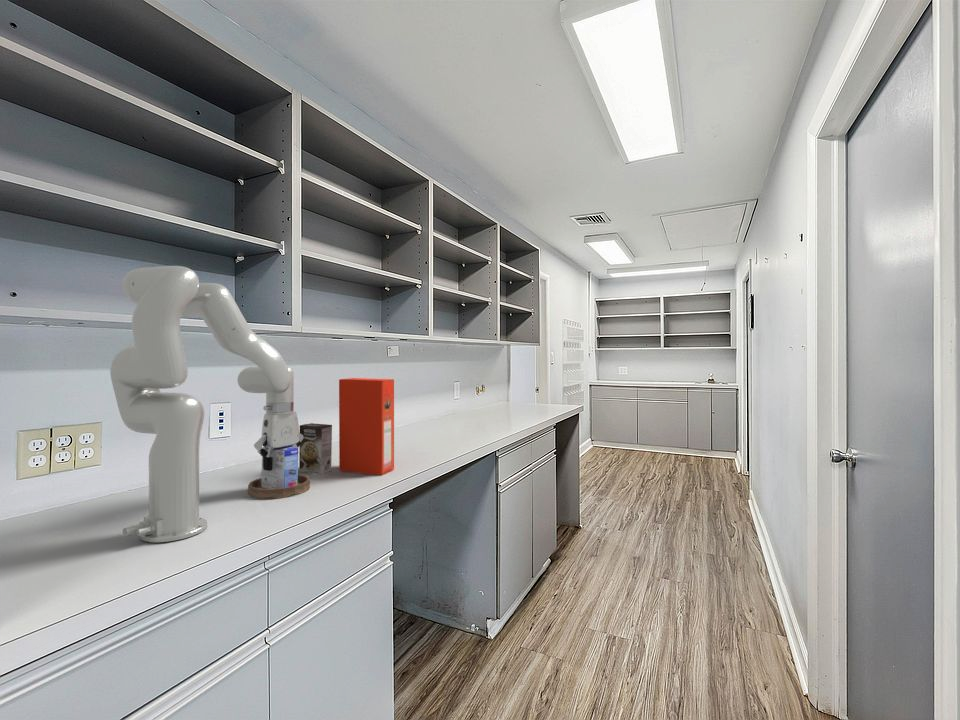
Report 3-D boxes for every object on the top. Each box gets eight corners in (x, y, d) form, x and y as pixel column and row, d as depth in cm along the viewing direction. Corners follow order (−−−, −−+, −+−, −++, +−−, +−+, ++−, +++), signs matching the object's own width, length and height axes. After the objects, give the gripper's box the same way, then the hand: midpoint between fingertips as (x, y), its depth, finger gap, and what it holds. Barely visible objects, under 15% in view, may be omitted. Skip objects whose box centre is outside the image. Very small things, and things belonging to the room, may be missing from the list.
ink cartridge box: (299, 487, 135) (299, 439, 135) (284, 492, 130) (284, 442, 130) (276, 483, 140) (276, 436, 140) (260, 488, 135) (260, 439, 135)
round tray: (275, 502, 124) (275, 492, 124) (236, 493, 131) (236, 484, 131) (321, 486, 139) (321, 478, 139) (284, 479, 146) (284, 471, 146)
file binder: (381, 475, 152) (381, 380, 151) (338, 470, 158) (339, 379, 157) (394, 470, 159) (394, 379, 159) (352, 465, 165) (353, 378, 165)
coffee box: (298, 472, 156) (298, 425, 155) (310, 467, 162) (310, 422, 162) (320, 474, 153) (321, 426, 153) (332, 469, 159) (332, 424, 159)
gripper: (262, 412, 125) (262, 475, 125) (312, 405, 141) (312, 462, 141) (245, 410, 129) (245, 472, 129) (295, 404, 144) (295, 459, 144)
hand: (280, 466), depth 135 cm, fingers open, 7 cm apart
